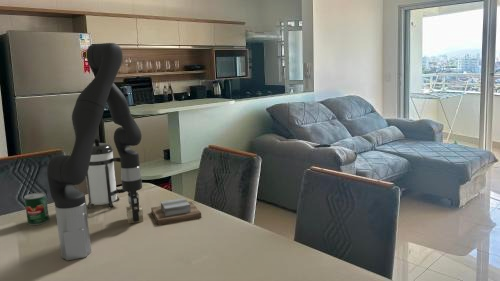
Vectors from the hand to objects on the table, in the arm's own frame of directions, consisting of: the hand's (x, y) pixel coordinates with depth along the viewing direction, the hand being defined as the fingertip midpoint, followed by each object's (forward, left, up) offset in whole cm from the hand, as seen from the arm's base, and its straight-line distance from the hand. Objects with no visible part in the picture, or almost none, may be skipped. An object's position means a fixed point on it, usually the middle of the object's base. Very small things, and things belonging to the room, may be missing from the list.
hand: (135, 218), depth 172 cm
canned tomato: (+17, +36, -1) cm, 40 cm away
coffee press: (+27, +9, -1) cm, 29 cm away
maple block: (0, 0, -1) cm, 1 cm away
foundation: (-2, -16, -1) cm, 16 cm away
